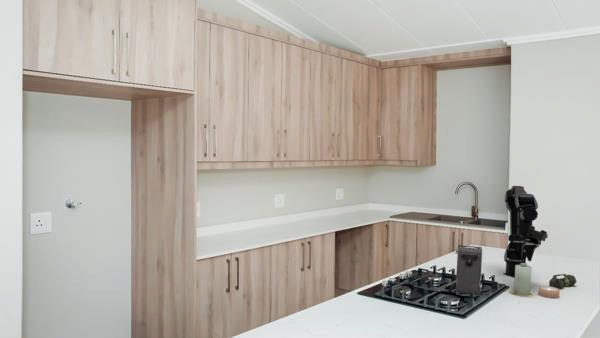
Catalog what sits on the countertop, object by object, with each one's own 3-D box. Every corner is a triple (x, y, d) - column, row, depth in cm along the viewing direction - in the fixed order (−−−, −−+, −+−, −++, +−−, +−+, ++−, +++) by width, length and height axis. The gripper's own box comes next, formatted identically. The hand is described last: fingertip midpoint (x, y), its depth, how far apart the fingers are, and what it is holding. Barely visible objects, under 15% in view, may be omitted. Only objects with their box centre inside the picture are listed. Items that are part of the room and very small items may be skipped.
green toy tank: (577, 286, 224) (556, 292, 213) (565, 283, 228) (544, 289, 217) (578, 272, 224) (557, 277, 213) (566, 269, 228) (545, 275, 217)
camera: (479, 297, 214) (481, 249, 218) (480, 298, 198) (482, 246, 202) (452, 294, 217) (454, 247, 221) (450, 295, 202) (453, 243, 206)
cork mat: (504, 292, 208) (504, 291, 208) (516, 289, 213) (516, 288, 213) (525, 298, 200) (525, 297, 200) (537, 295, 206) (537, 294, 206)
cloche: (510, 292, 207) (512, 262, 206) (519, 290, 211) (520, 261, 210) (524, 296, 202) (526, 266, 201) (533, 294, 206) (534, 264, 205)
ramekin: (534, 294, 206) (534, 287, 206) (544, 292, 210) (544, 284, 210) (553, 300, 200) (553, 292, 200) (563, 297, 204) (563, 289, 204)
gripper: (534, 220, 207) (534, 260, 204) (553, 225, 219) (553, 263, 216) (507, 220, 215) (507, 258, 212) (527, 225, 227) (527, 261, 225)
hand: (524, 260), depth 216 cm, fingers open, 9 cm apart
